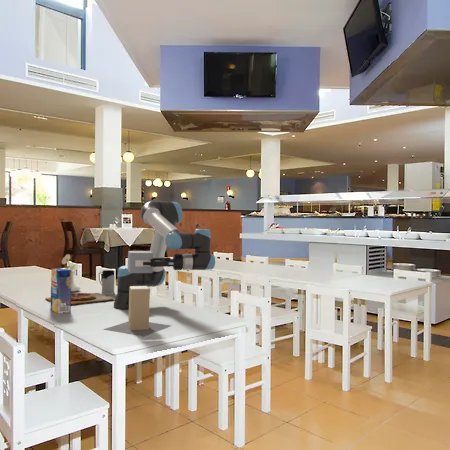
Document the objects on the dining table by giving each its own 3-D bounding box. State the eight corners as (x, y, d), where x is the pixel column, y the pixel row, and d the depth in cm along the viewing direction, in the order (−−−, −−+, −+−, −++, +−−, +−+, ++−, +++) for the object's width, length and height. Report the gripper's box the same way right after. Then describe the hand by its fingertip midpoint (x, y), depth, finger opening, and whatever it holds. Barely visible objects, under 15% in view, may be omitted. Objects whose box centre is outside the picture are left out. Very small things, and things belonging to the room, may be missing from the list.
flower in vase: (73, 289, 298) (74, 252, 298) (83, 291, 291) (84, 254, 291) (56, 291, 288) (57, 253, 287) (66, 293, 281) (67, 255, 280)
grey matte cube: (127, 270, 201) (128, 251, 201) (149, 270, 204) (149, 251, 204) (129, 273, 192) (130, 252, 192) (152, 272, 195) (153, 252, 195)
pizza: (96, 294, 284) (96, 289, 284) (118, 301, 264) (119, 295, 264) (42, 300, 259) (42, 294, 259) (62, 308, 239) (62, 301, 239)
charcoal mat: (134, 320, 213) (134, 319, 213) (171, 326, 203) (172, 325, 203) (103, 330, 193) (103, 329, 193) (143, 337, 184) (143, 336, 184)
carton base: (128, 325, 201) (129, 286, 201) (146, 324, 204) (147, 285, 203) (130, 330, 193) (131, 289, 193) (148, 329, 196) (149, 288, 196)
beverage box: (63, 308, 237) (64, 267, 237) (70, 311, 229) (71, 270, 228) (50, 309, 233) (51, 268, 232) (57, 313, 224) (58, 270, 224)
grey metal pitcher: (106, 295, 279) (107, 272, 279) (93, 292, 287) (93, 270, 287) (117, 293, 286) (118, 271, 286) (104, 291, 294) (104, 269, 294)
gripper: (187, 273, 193) (136, 273, 186) (177, 267, 215) (131, 267, 208) (187, 256, 193) (137, 256, 186) (177, 251, 215) (131, 251, 208)
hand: (133, 262), depth 197 cm, fingers closed on grey matte cube, 10 cm apart
